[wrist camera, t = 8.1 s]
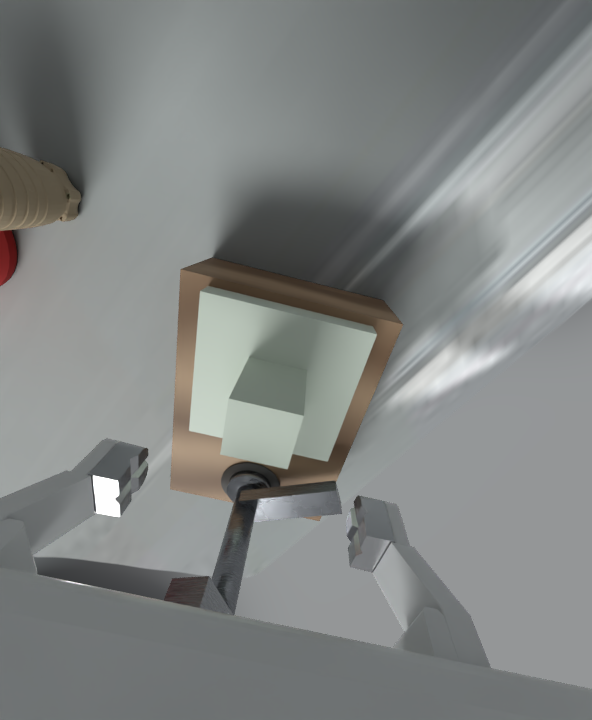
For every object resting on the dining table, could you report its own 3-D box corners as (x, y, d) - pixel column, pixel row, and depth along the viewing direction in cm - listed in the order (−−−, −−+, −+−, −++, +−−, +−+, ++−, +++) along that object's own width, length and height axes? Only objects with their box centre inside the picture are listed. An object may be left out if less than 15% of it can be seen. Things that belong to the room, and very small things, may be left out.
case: (212, 257, 19) (179, 269, 15) (383, 300, 20) (404, 325, 15) (194, 443, 27) (169, 490, 22) (318, 471, 27) (319, 522, 23)
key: (328, 438, 19) (338, 649, 10) (344, 509, 22) (365, 723, 12) (213, 453, 20) (125, 653, 11) (244, 518, 23) (195, 719, 14)
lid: (208, 285, 15) (159, 316, 10) (373, 326, 15) (397, 373, 11) (196, 418, 19) (157, 483, 14) (327, 448, 19) (330, 520, 15)
